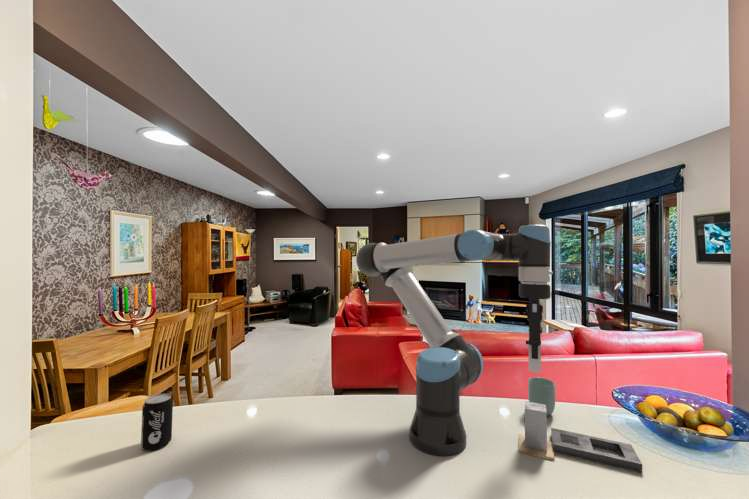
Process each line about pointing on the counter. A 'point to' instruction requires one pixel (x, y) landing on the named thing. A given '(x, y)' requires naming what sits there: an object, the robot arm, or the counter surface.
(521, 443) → the cork pad
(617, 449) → the grey recessed tray
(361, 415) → the counter surface
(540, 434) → the steel peg
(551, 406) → the cup
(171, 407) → the beverage can
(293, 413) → the counter surface
